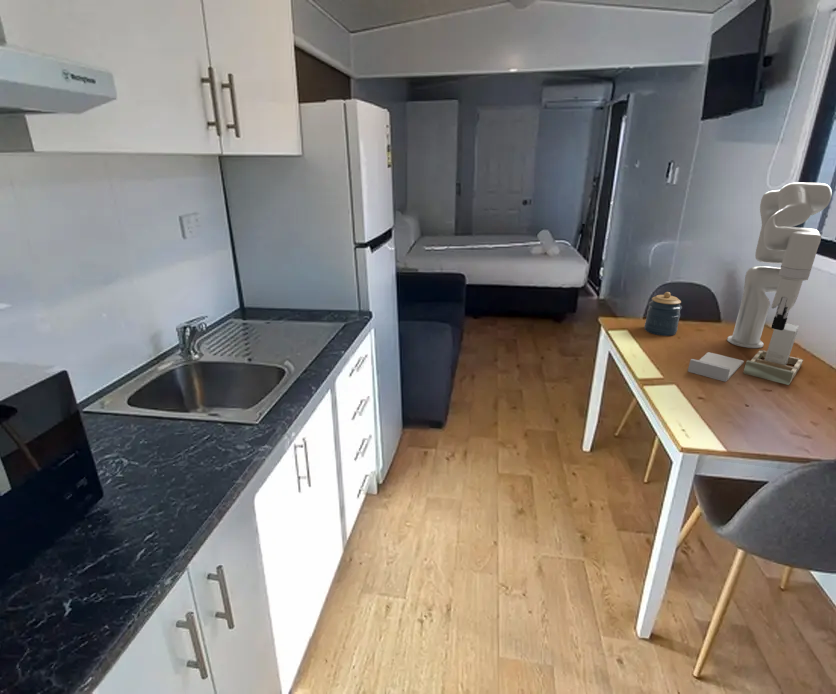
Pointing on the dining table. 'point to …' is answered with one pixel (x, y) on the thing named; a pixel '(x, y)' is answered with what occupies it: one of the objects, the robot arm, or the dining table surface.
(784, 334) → the skincare box
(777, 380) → the divided wooden tray
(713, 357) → the grey sloped stand
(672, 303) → the canister
